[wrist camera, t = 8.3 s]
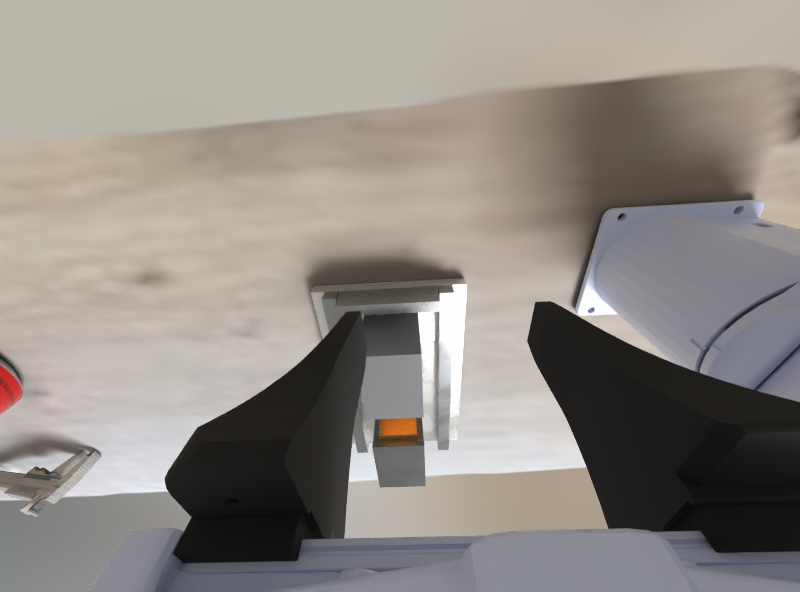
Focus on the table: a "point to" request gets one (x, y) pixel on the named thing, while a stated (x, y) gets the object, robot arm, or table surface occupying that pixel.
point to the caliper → (47, 482)
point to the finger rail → (441, 368)
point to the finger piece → (393, 367)
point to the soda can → (9, 387)
